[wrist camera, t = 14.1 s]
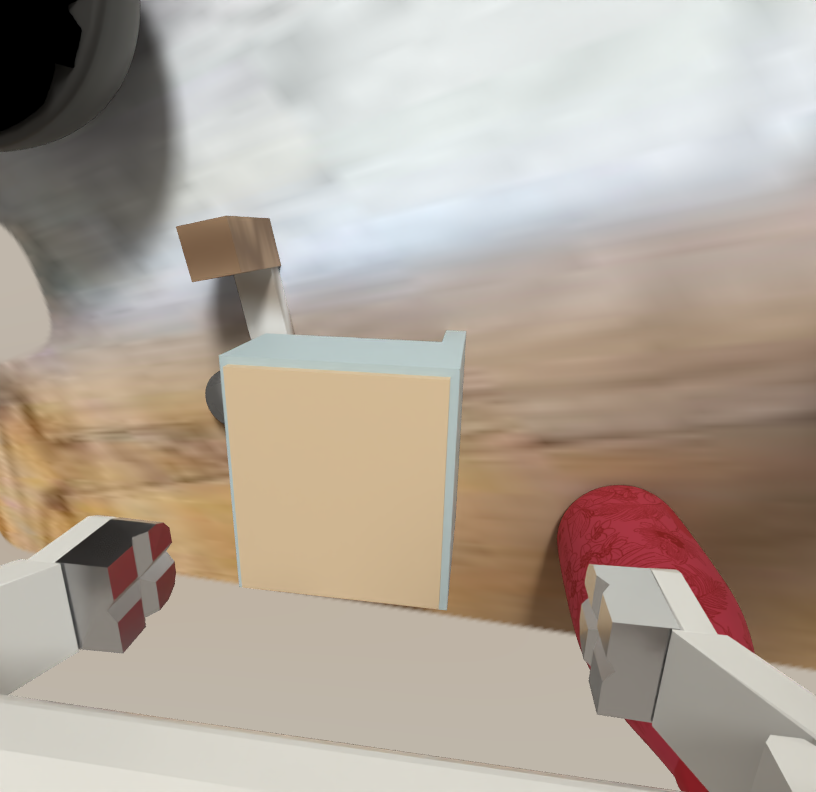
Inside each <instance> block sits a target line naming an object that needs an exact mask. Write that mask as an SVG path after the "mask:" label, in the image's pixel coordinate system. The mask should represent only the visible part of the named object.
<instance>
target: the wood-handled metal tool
mask: <svg viewBox="0 0 816 792" xmlns="http://www.w3.org/2000/svg"><path fill="white" fill-rule="evenodd" d="M176 229H177V232H178V235H179V239H180V242H181V246H182V249H183V253H184V256H185V259H186V263H187V266H188V270H189V273H190V276H191V280H192V282H196V281H202V280H208V279H213V278H219V277H225V276H231V275H234V278H235V282H236V286H237V290H238V293H239V297H240V301H241V304H242V308H243V312H244V316H245V319H246V323H247V327H248V330H249V334H250V338H251V340H253V339H255V338H257V337H259V336H261V335H263V334H266V333H269V334H289V335H295V333H294V329H293V325H292V321H291V317H290V313H289V309H288V305H287V301H286V297H285V293H284V288H283V284H282V280H281V276H280V272H279V268H278V266H281V263H280V259H279V255H278V251H277V247H276V243H275V239H274V235H273V231H272V226H271V222H270V219H269V218H254V217H238V216H223V217H218V218H214V219H209V220H204V221H200V222H195V223H191V224H186V225H181V226H177V227H176Z"/></svg>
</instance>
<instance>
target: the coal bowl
mask: <svg viewBox="0 0 816 792" xmlns="http://www.w3.org/2000/svg"><path fill="white" fill-rule="evenodd" d="M139 23H140V0H0V152H8V151H16V150H23V149H28V148H33V147H37V146H41V145H44V144H47V143H50V142H53V141H56V140H58V139H61V138H63V137H65V136H67V135H69V134H71V133H73V132H74V131H76V130H78V129H79V128H81V127H83V126H84V125H86V124H87V123H88V122H90V121H91V120H92V119H94V118H95V117H96V116H97V115H98V114H99V113H100V112H101V111H102V110H103V109H104V108H105V107H106V105H107V104H108V103H109V102H110V101H111V99H112V98H113V97H114V96H115V94H116V93H117V91H118V89H119V88H120V86H121V84H122V83H123V81H124V79H125V77H126V75H127V72H128V70H129V67H130V65H131V62H132V59H133V55H134V52H135V48H136V43H137V38H138V32H139Z"/></svg>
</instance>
